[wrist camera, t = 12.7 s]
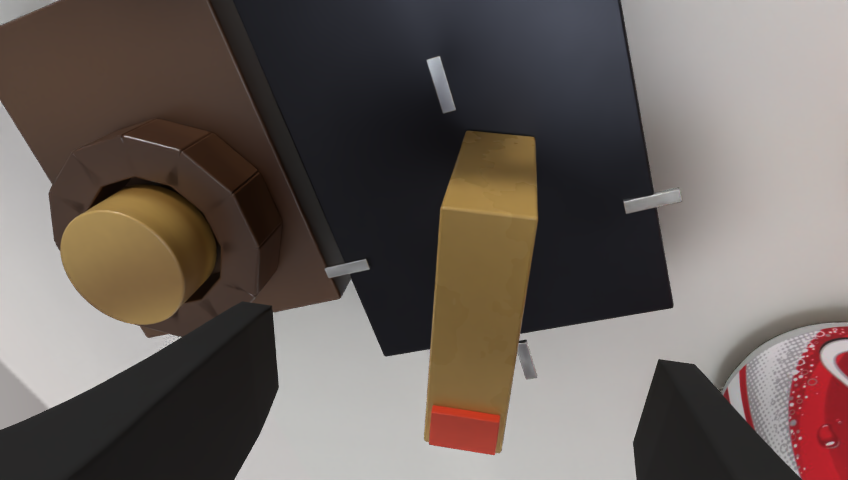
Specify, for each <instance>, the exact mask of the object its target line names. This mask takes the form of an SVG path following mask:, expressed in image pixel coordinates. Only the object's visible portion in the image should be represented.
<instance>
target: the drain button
mask: <svg viewBox="0 0 848 480" xmlns="http://www.w3.org/2000/svg"><path fill="white" fill-rule="evenodd" d="M60 250H61V259H62V263H63V266H64V269H65V271H66V274H67V276H68V278H69V279H70V281H71V283H72V284H73V286H74V287H75V288H76V290H77V291H78V292H79V293H80V294H81V296H82V297H83V298H84V299H85V300H86V301H88V302H89V303H90V304H91V305H92V306H94V307H95V308H96V309H98V310H99V311H101V312H102V313H104V314H106V315H108V316H110V317H112V318H114V319H117V320H119V321H122V322H126V323H130V324H138V325H148V324H155V323H158V322H161V321H164V320H166V319H168V318H169V317H171V316H172V315H173V314H174V313H175V312H176V311H177V310H178V309H179V308H180V307H181V306H182V305H183V304H184V303H185V302H186V301H187V300H188V299H189V298H190V297H191V296H192V294H193V293H194V292H195V291H196V290H197V289H198V288H199V287H200V286H201V285H202V284H203V283H204V282H205V281H206V280H207V279H208V278H209V276H210V275H211V273H212V271H213V269H214V267H215V263H216V257H217V247H216V241H215V238H214V235H213V232H212V230H211V228H210V226H209V224H208V222H207V221H206V219H205V218H204V216H203V215H202V214H201V212H200V211H199V210H198V209H197V208H196V207H195V206H194V205H193V204H192V203H190V202H189V201H188V200H187V199H185V198H184V197H182V196H181V195H179V194H177V193H176V192H174V191H171V190H169V189H167V188H164V187H161V186H156V185H148V184H139V185H132V186H129V187H126V188H123V189H122V190H120V191H118V192H117V193H115V194H113V195H112V196H110V197H109V198H107V199H105V200H104V201H102V202H100V203H99V204H97V205H95V206H94V207H92V208H90V209H89V210H87V211H85V212H84V213H82V214H80V215H79V216H77V217H76V218H74V219H73V220H72V221H71V222H70V223H69V224H68V226H67V227H66V229H65V231H64V233H63V236H62V239H61V246H60Z"/></svg>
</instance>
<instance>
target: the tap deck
mask: <svg viewBox="0 0 848 480" xmlns="http://www.w3.org/2000/svg"><path fill="white" fill-rule="evenodd" d="M233 2H234V5H235V7H236V9H237V12H238V14H239V16H240V19H241V21H242V23H243V26H244V28H245V30H246V33H247V35H248V37H249V40H250V42H251V44H252V47H253V49H254V51H255V54H256V56H257V59H258V61H259V63H260V66H261V68H262V70H263V73H264V75H265V77H266V80H267V82H268V84H269V87H270V89H271V91H272V94H273V96H274V98H275V101H276V103H277V105H278V108H279V110H280V112H281V115H282V117H283V119H284V122H285V124H286V127H287V129H288V131H289V134H290V136H291V138H292V141H293V143H294V145H295V148H296V150H297V152H298V155H299V157H300V159H301V162H302V164H303V166H304V169H305V171H306V173H307V176H308V178H309V180H310V183H311V185H312V187H313V190H314V192H315V194H316V197H317V199H318V202H319V204H320V206H321V209H322V211H323V213H324V216H325V218H326V220H327V223H328V225H329V227H330V230H331V232H332V234H333V237H334V239H335V241H336V244H337V246H338V248H339V251H340V253H341V255H342V258H343V260H344V262H342V263H338V264H333V265H329V266H325V268H324V269H325V271H326V274H327V276H328V278H332V277H336V276H341V275H346V274H350V277H351V279H352V281H353V284H354V286H355V288H356V291H357V293H358V295H359V298H360V300H361V302H362V305H363V307H364V309H365V312H366V314H367V316H368V319H369V321H370V323H371V326H372V328H373V330H374V333H375V335H376V338H377V340H378V342H379V345H380V347H381V349H382V352H383V354H384V356H392V355H398V354H404V353H410V352H415V351H421V350H427V349H430V346H431V332H432V318H433V304H434V290H435V276H436V262H437V248H438V234H439V220H440V208H441V205H442V202H443V199H444V196H445V193H446V190H447V187H448V184H449V181H450V178H451V175H452V172H453V169H454V166H455V163H456V160H457V157H458V154H459V151H460V148H461V145H462V142H463V139H464V136H465V133H466V131H478V132H488V133H498V134H509V135H519V136H529V137H534V138H535V143H536V171H537V199H538V224H537V230H536V237H535V243H534V249H533V256H532V262H531V268H530V275H529V281H528V287H527V293H526V300H525V306H524V312H523V319H522V325H521V331H520V334H522V333H528V332H534V331H539V330H545V329H551V328H557V327H563V326H569V325H575V324H581V323H587V322H593V321H598V320H604V319H610V318H616V317H622V316H628V315H634V314H640V313H646V312H652V311H657V310H663V309H669V308H673V305H674V304H673V299H672V293H671V287H670V281H669V276H668V270H667V264H666V258H665V253H664V247H663V241H662V235H661V230H660V224H659V218H658V212H657V207H660V206H664V205H669V204H674V203H678V202H682V198H681V191H680V189H679V187H678V188H673V189H669V190H664V191H660V192H656V193H654V189H653V184H652V178H651V172H650V166H649V161H648V155H647V149H646V143H645V138H644V132H643V126H642V120H641V114H640V109H639V103H638V97H637V91H636V86H635V80H634V74H633V68H632V63H631V57H630V51H629V45H628V40H627V34H626V28H625V22H624V17H623V11H622V5H621V0H233ZM517 352H518V355H519V359H520V362H521V365H522V368H523V371H524V375H525V378H526V379H533V378H537V373H536V369H535V366H534V363H533V359H532V356H531V353H530V349H529V346H528V343H527V340H521V341H519V344H518V350H517Z"/></svg>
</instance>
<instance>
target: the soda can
mask: <svg viewBox="0 0 848 480" xmlns="http://www.w3.org/2000/svg"><path fill="white" fill-rule="evenodd" d="M721 394H722V395H723V396H724V397H725V398H726V399H727V400H728V401H729V403H730V404H731V405H732V406H733V407H734V408H735V409H736V410H737V411H738V413H739V414H740V415H741V416H742V417H743V418H744V419H745V420H746V421H747V422H748V424H749V425H750V426H751V427H752V428H753V429H754V430H755V431H756V432H757V433H758V434H759V435H760V437H761V438H762V439H763V440H764V441H765V442H766V443H767V444H768V445H769V446H770V447H771V448H772V449H773V450H774V451H775V452H776V453H777V454H778V456H779V457H780V458H781V459H782V460H783V461H784V462H785V463H786V464H787V465H788V466H789V467H790V468H791V469H792V470H793V471H794V472H795V473H796V474H797V475H798V476H799V477H800V478H801V479H802V480H848V322H840V323H822V324H815V325H809V326H805V327H801V328H798V329H795V330H792V331H789V332H786V333H784V334H781V335H779V336H777V337H775V338H773V339H771V340H769V341H767V342H766V343H764V344H762V345H761V346H759V347H758V348H757V349H755V350H754V351H753V352H752V353H751V354H749V355H748V356H747V357H746V358H745V360H744V361H743V362H742V363H741V364H740V365H739V366H738V367H737V368H736V369H735V371H734V372H733V373H732V374H731V376H730V377H729V379H728V380H727V382H726V384H725V386H724V388H723V390H722V393H721Z"/></svg>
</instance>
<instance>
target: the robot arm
mask: <svg viewBox="0 0 848 480" xmlns="http://www.w3.org/2000/svg"><path fill="white" fill-rule="evenodd" d="M278 388H279V385H278V372H277V360H276V348H275V335H274V323H273V311H272V305H265V304H257V303H250V302H243V301H242V302H240V303H238V304H236V305H235V306H233V307H231V308H229V309H228V310H226V311H224V312H222V313H221V314H219V315H218V316H216V317H214V318H213V319H211V320H209V321H208V322H206V323H204V324H203V325H201V326H200V327H198V328H196V329H195V330H193V331H192V332H190V333H188V334H187V335H185V336H183V337H182V338H180V339H178V340H177V341H175V342H173V343H172V344H170V345H168V346H167V347H165V348H163V349H162V350H160V351H158V352H157V353H155V354H153V355H152V356H150V357H148V358H147V359H145V360H143V361H141V362H139V363H137V364H136V365H134V366H132V367H130V368H128V369H127V370H125V371H123V372H121V373H119V374H117V375H116V376H114V377H112V378H110V379H108V380H107V381H105V382H103V383H101V384H99V385H97V386H96V387H94V388H92V389H90V390H88V391H86V392H84V393H82V394H80V395H78V396H76V397H74V398H72V399H70V400H68V401H66V402H64V403H61V404H59V405H57V406H55V407H53V408H50V409H48V410H46V411H44V412H42V413H40V414H38V415H35V416H33V417H31V418H29V419H26V420H24V421H22V422H19V423H17V424H15V425H12V426H10V427H7V428H4V429H2V430H0V480H234V479H235V477H236V476H237V474H238V472H239V470H240V469H241V467H242V465H243V463H244V461H245V460H246V458H247V456H248V454H249V453H250V451H251V449H252V447H253V445H254V444H255V442H256V440H257V438H258V436H259V434H260V432H261V430H262V428H263V425H264V423H265V421H266V418H267V416H268V414H269V411H270V408H271V406H272V403H273V401H274V398H275V396H276V393H277V391H278ZM633 447H634V457H635V468H636V477H637V480H802V479H801V478H800V477H799V476H798V475H797V474H796V473H795V472H794V471H793V470H792V469H791V468H790V467H789V466H788V465H787V464H786V463H785V462H784V461H783V460H782V459H781V458H780V457H779V456H778V454H777V453H776V452H775V451H774V450H773V449H772V448H771V447H770V446H769V445H768V444H767V443H766V442H765V441H764V440H763V439H762V438H761V437H760V435H759V434H758V433H757V432H756V431H755V430H754V429H753V428H752V427H751V426H750V425H749V424H748V422H747V421H746V420H745V419H744V418H743V417H742V416H741V415H740V414H739V413H738V411H737V410H736V409H735V408H734V407H733V406H732V405H731V404H730V403H729V401H728V400H727V399H726V398H725V397H724V396H723V395H722V394H721V393H720V391H719V390H718V389H717V388H716V387H715V386H714V385H713V384H712V383H711V381H710V380H709V379H708V378H707V377H706V376H705V375H704V374H703V373H702V372H701V371H700V370H699V369H698V368H697V366H696V365H695V364H689V363H682V362H675V361H667V360H660V359H659V360H658V363H657V366H656V370H655V373H654V376H653V379H652V383H651V386H650V389H649V392H648V396H647V399H646V402H645V406H644V409H643V412H642V415H641V419H640V422H639V425H638V428H637V432H636V435H635V438H634V442H633Z"/></svg>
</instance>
